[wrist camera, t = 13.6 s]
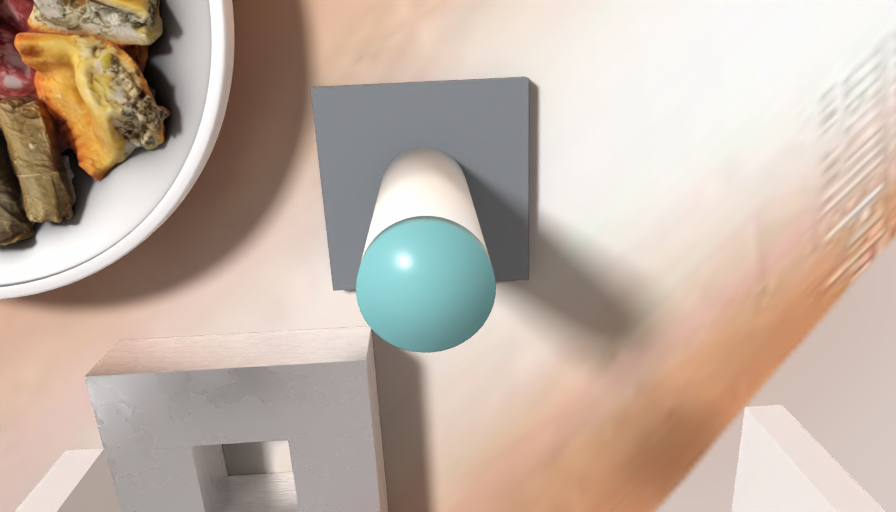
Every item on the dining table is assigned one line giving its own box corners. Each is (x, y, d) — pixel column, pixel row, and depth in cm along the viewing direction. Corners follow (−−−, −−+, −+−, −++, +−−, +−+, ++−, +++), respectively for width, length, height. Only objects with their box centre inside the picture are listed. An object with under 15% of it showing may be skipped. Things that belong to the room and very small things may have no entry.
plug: (384, 233, 38) (362, 356, 23) (377, 149, 36) (349, 227, 22) (468, 228, 38) (496, 348, 24) (465, 144, 36) (494, 219, 22)
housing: (168, 538, 46) (142, 590, 41) (119, 340, 40) (84, 376, 36) (389, 523, 46) (386, 573, 42) (371, 325, 41) (365, 360, 36)
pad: (335, 284, 40) (333, 290, 39) (313, 86, 35) (310, 88, 35) (525, 273, 40) (528, 279, 39) (525, 76, 36) (528, 78, 35)
